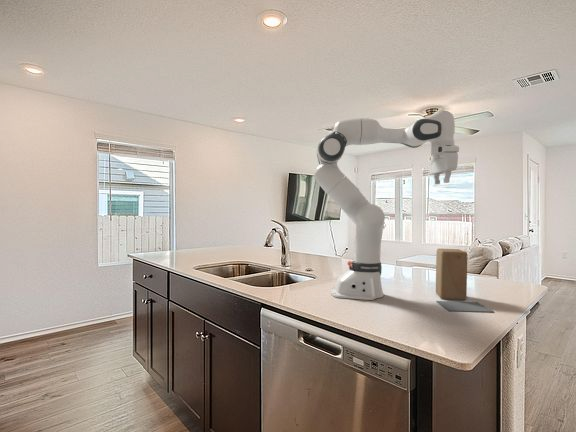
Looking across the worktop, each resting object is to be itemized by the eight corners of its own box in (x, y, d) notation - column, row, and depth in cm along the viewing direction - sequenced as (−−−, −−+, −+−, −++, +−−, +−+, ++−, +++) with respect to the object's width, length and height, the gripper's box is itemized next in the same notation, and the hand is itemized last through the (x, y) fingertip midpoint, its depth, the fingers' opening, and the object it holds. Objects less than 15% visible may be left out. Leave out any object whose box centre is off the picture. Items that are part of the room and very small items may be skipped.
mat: (449, 311, 121) (449, 310, 121) (436, 301, 133) (436, 300, 133) (494, 312, 120) (494, 311, 120) (477, 302, 132) (477, 301, 132)
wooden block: (467, 301, 134) (468, 252, 134) (440, 299, 136) (441, 251, 136) (459, 294, 144) (460, 248, 143) (435, 293, 146) (436, 248, 145)
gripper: (425, 154, 150) (425, 185, 150) (444, 146, 130) (443, 181, 130) (440, 154, 150) (439, 185, 150) (461, 146, 129) (460, 181, 130)
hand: (441, 183), depth 140 cm, fingers open, 8 cm apart
